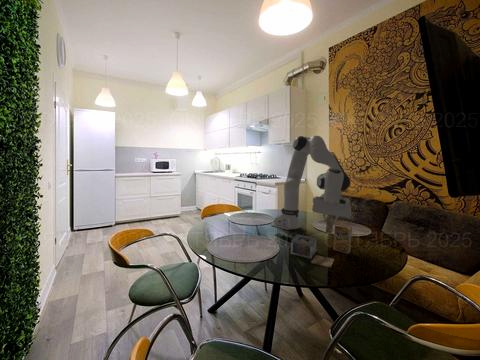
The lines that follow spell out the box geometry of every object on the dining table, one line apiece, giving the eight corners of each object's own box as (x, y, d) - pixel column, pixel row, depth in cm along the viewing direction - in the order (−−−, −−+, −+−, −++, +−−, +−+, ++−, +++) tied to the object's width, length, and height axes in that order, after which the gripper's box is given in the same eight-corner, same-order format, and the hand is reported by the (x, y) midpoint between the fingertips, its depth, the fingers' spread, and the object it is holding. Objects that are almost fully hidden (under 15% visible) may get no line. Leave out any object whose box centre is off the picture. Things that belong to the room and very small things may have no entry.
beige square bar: (325, 232, 130) (328, 204, 128) (326, 230, 133) (329, 203, 131) (331, 233, 129) (333, 205, 127) (332, 231, 131) (334, 204, 129)
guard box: (290, 253, 134) (291, 240, 133) (296, 246, 145) (297, 234, 144) (311, 258, 128) (312, 245, 127) (316, 250, 138) (317, 238, 137)
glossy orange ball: (299, 247, 135) (299, 242, 135) (301, 244, 139) (301, 239, 139) (306, 248, 133) (306, 243, 133) (308, 246, 137) (308, 241, 136)
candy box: (332, 250, 140) (334, 225, 138) (335, 247, 143) (336, 224, 141) (348, 254, 134) (350, 229, 132) (350, 252, 138) (352, 227, 136)
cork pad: (311, 262, 123) (311, 261, 123) (315, 255, 132) (315, 254, 132) (330, 267, 118) (330, 266, 118) (334, 260, 127) (334, 259, 127)
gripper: (311, 196, 131) (309, 220, 133) (351, 202, 120) (348, 227, 122) (314, 195, 136) (312, 217, 138) (352, 200, 126) (350, 224, 128)
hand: (329, 222), depth 130 cm, fingers closed on beige square bar, 3 cm apart
